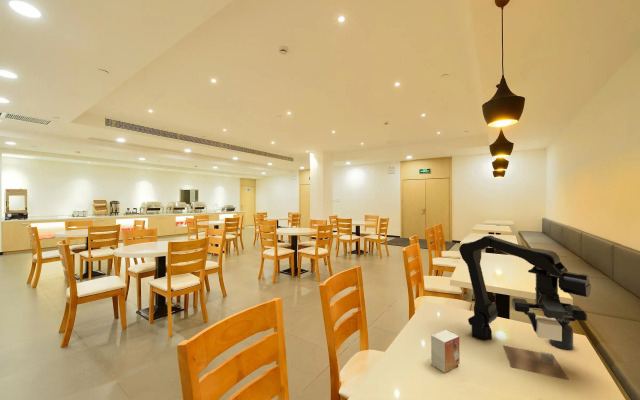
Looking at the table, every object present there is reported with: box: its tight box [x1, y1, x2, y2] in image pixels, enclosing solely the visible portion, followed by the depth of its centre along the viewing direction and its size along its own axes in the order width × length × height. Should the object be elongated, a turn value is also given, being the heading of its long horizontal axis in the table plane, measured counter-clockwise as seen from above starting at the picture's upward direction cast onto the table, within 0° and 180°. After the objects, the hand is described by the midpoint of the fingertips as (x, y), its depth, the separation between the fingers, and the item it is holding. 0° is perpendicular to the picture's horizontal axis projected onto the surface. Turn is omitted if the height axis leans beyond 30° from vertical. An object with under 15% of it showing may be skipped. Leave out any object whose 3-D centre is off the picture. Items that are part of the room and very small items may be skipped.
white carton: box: [532, 315, 562, 341], centre depth 89 cm, size 6×6×5 cm
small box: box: [430, 329, 461, 374], centre depth 91 cm, size 8×6×10 cm
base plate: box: [502, 345, 570, 381], centre depth 91 cm, size 15×14×1 cm
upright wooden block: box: [540, 351, 555, 366], centre depth 89 cm, size 3×1×4 cm, turn 64°
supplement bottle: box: [548, 318, 574, 351], centre depth 100 cm, size 7×7×12 cm
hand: (546, 333), depth 89 cm, fingers closed on white carton, 6 cm apart
